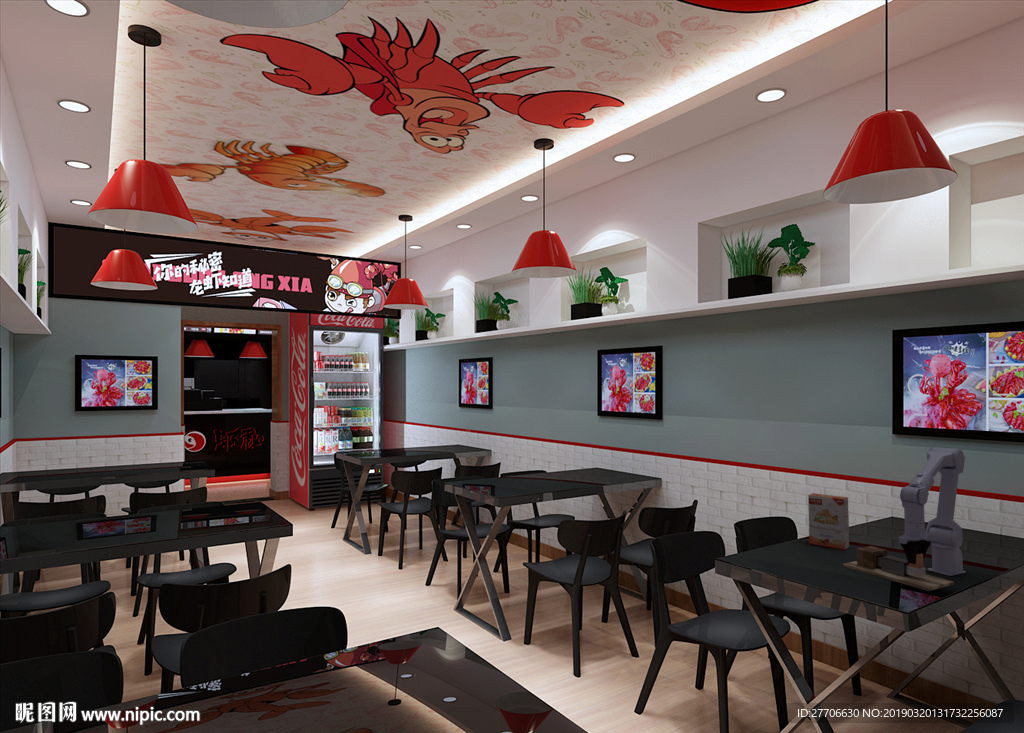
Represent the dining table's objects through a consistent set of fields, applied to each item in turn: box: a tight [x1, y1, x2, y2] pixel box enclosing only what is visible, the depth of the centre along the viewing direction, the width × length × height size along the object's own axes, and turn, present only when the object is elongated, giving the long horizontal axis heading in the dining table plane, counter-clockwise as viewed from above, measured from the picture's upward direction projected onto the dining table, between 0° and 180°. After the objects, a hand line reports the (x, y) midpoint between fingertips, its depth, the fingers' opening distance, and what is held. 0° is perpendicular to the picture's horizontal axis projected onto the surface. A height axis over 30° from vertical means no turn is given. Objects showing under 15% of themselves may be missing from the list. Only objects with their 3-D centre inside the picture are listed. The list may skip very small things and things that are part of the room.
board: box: [842, 560, 955, 592], centre depth 211 cm, size 14×30×1 cm, turn 25°
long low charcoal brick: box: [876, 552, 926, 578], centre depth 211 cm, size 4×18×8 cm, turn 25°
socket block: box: [856, 545, 888, 569], centre depth 219 cm, size 8×6×6 cm
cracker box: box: [807, 492, 850, 551], centre depth 250 cm, size 14×6×21 cm, turn 45°
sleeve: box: [881, 554, 910, 577], centre depth 211 cm, size 5×8×5 cm, turn 25°
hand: (915, 562), depth 205 cm, fingers closed on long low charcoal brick, 4 cm apart
